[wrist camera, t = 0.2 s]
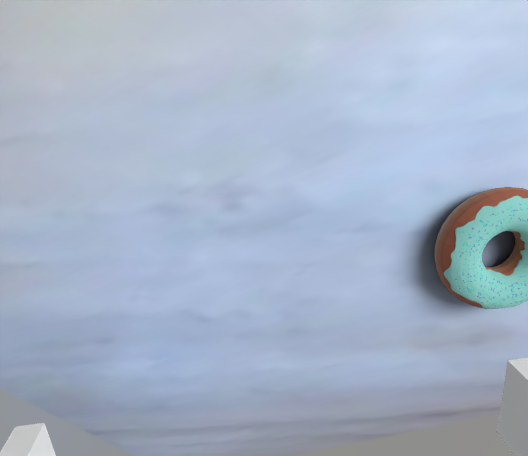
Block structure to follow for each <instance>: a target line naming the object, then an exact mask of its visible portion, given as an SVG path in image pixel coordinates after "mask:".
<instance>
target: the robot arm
mask: <svg viewBox="0 0 528 456" xmlns="http://www.w3.org/2000/svg"><path fill="white" fill-rule="evenodd" d="M497 433H498V435H499V436H500V437H501V439H502V440H503V441H504V443H505V444H506V445H507V446H508V448H509V449H510V450H511V452H512V453H513V454H514V456H528V358H522V359H515V360H508V363H507V369H506V376H505V382H504V389H503V395H502V402H501V408H500V415H499V421H498V428H497ZM0 456H56V455H55V452H54V449H53V446H52V443H51V440H50V438H49V435H48V432H47V429H46V426H45V424H44V423H40V424H33V425H25V426H17V427H15V428H14V430H13V432H12V433H11V435H10V437H9V438H8V440H7V442H6V444H5V445H4V447H3V448H2V450H1V452H0Z"/></svg>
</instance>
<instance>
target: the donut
mask: <svg viewBox="0 0 528 456" xmlns="http://www.w3.org/2000/svg"><path fill="white" fill-rule="evenodd" d="M504 231H511V232H513V234H514V236H515V246H514V249H513V251H512V253H511V255H510V256H509V257H508V258H507V259H506V260H505V261H504V262H503V263H501V264H500V265H498V266H495V267H485V266H484V264H483V263H482V253H483V250H484V248H485V246H486V244H487V243H488V242H489V241H490V240H491V239H492V238H493V237H494V236H496V235H497V234H499V233H501V232H504ZM435 263H436V268H437V272H438V274H439V277H440V279H441V281H442V283H443V284H444V286H445V287H446V288H447V290H448V291H449V292H450V293H451V294H453V295H454V296H455V297H456V298H458V299H460V300H462V301H464V302H466V303H468V304H470V305H472V306H476V307H480V308H484V309H496V308H507V307H514V306H517V305H519V304H521V303H523V302H526V301H528V190H526V189H523V188H512V187H504V188H496V189H491V190H487V191H484V192H481V193H478V194H476V195H474V196H472V197H470V198H468V199H467V200H465V201H464V202H463V203H461V204H460V205H459V206H457V207H456V208H455V209H454V210H453V211H452V213H451V214H450V215H449V216H448V217H447V219H446V220H445V222H444V223H443V225H442V227H441V229H440V231H439V233H438V236H437V240H436V244H435Z"/></svg>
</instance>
